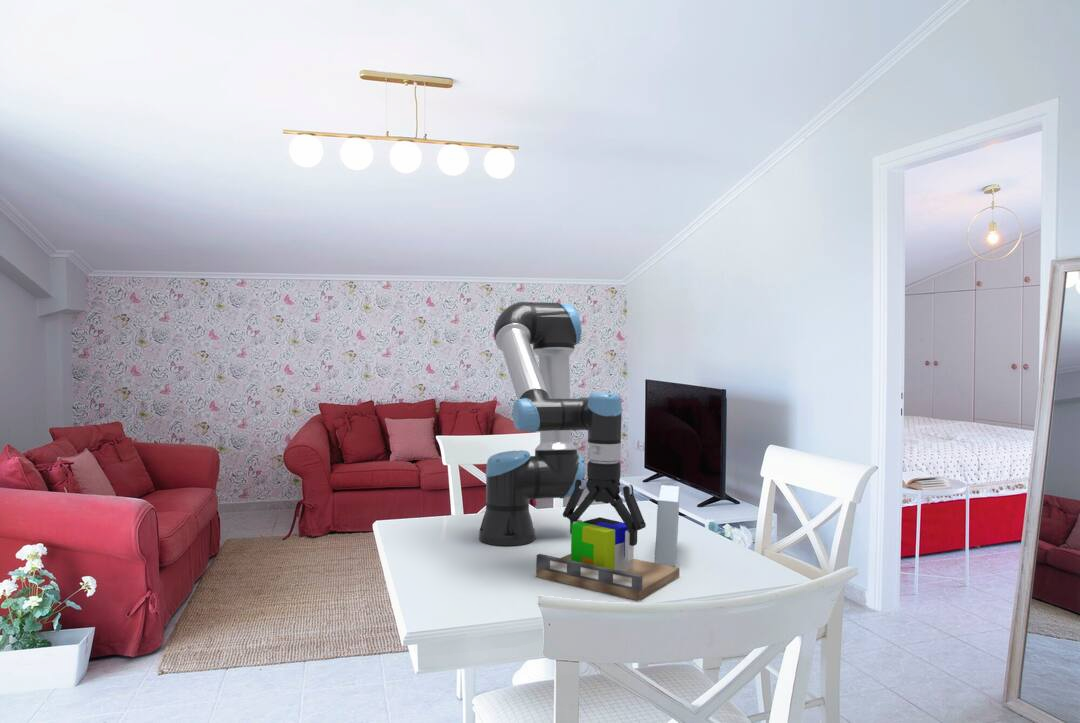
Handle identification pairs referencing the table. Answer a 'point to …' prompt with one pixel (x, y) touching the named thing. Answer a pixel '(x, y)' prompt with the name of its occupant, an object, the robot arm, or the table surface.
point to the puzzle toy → (600, 543)
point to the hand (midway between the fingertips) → (602, 554)
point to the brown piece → (607, 576)
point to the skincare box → (667, 525)
